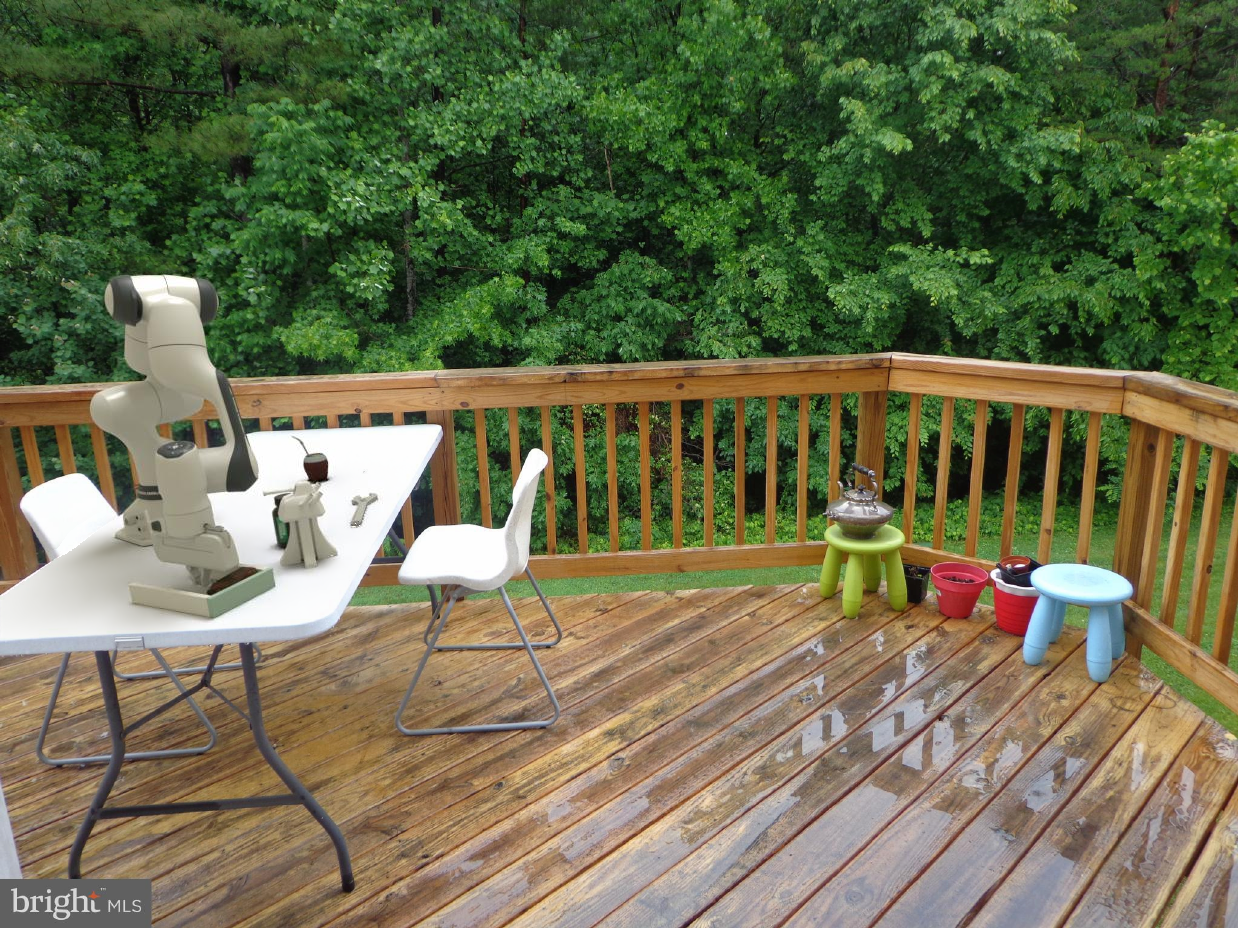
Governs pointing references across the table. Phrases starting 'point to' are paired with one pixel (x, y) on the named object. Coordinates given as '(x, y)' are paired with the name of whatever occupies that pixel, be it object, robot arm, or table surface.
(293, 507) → the toy gun turret
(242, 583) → the bay
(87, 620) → the table surface
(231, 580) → the brick
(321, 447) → the table surface
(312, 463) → the mate gourd
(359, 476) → the table surface
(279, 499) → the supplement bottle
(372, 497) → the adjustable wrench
